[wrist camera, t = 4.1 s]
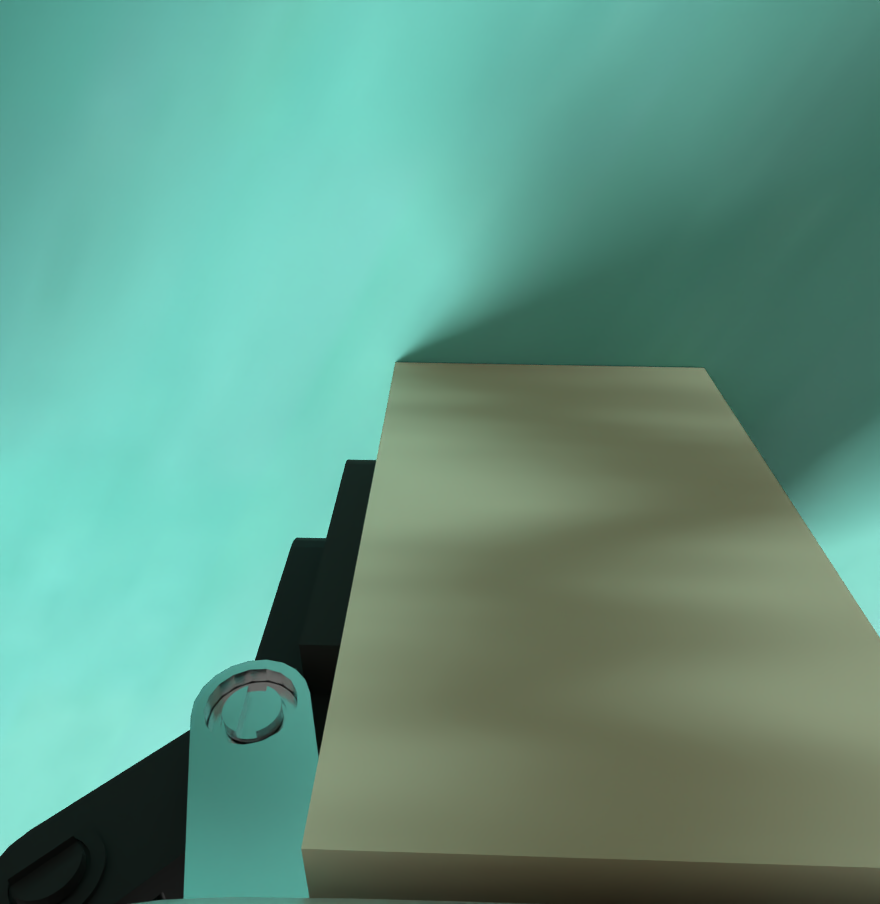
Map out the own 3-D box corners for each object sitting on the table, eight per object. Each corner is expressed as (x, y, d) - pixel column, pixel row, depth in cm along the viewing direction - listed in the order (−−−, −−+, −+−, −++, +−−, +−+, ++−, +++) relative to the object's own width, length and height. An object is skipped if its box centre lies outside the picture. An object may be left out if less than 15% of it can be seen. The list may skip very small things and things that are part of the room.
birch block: (704, 367, 12) (1032, 872, 5) (653, 597, 14) (823, 1131, 8) (395, 361, 12) (300, 848, 5) (401, 591, 14) (345, 1112, 8)
